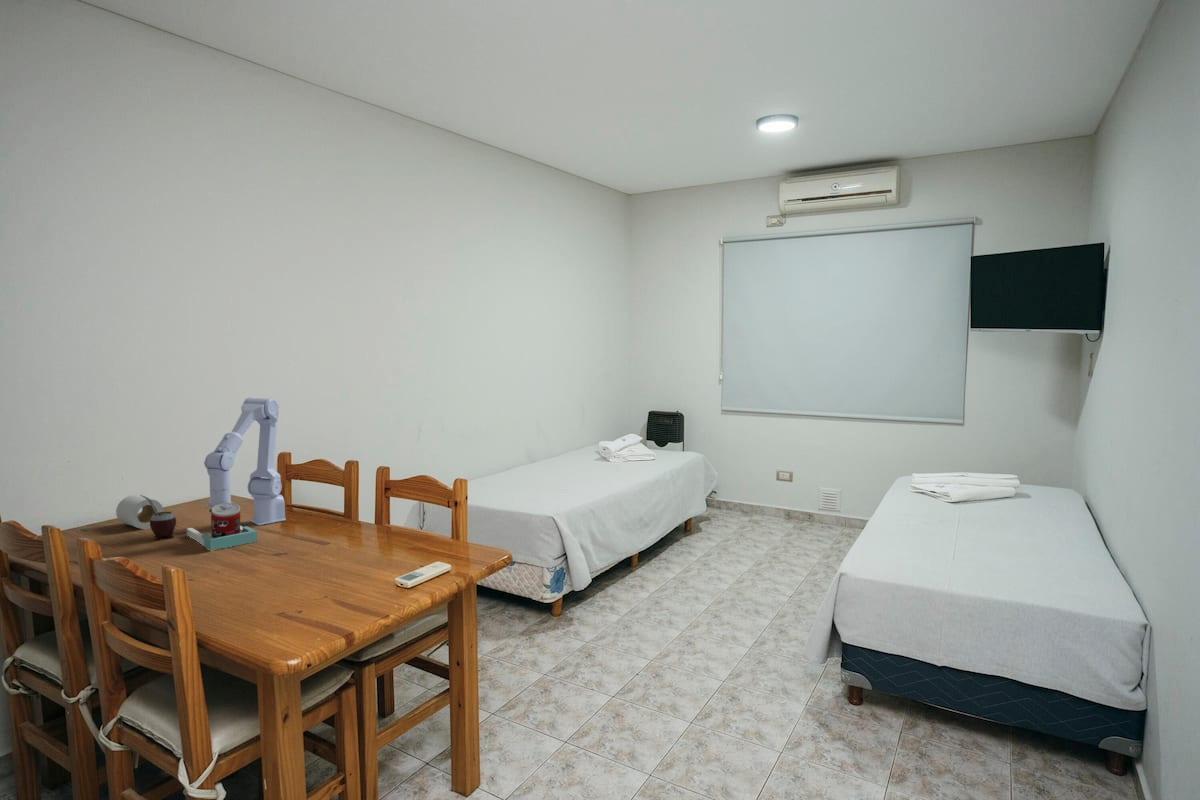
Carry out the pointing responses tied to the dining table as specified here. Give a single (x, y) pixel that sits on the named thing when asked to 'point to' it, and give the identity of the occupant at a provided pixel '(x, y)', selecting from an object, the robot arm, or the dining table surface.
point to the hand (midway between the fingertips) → (221, 530)
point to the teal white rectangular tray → (224, 538)
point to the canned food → (225, 520)
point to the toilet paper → (130, 509)
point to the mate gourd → (162, 523)
